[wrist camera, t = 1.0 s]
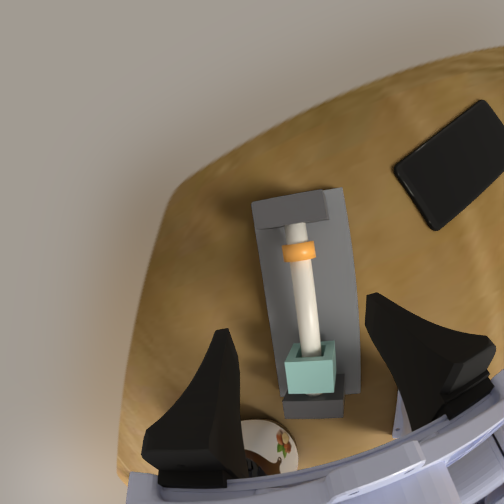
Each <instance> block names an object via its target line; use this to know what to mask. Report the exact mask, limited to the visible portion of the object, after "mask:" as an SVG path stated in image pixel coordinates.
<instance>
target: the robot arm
mask: <svg viewBox="0 0 504 504" xmlns="http://www.w3.org/2000/svg"><path fill="white" fill-rule="evenodd" d="M365 326H366V328H367V331H368V333H369V335H370V338H371V340H372V341H373V343H374V345H375V346H376V348H377V350H378V351H379V353H380V355H381V356H382V358H383V360H384V361H385V363H386V365H387V366H388V368H389V370H390V372H391V373H392V375H393V378H394V380H395V382H396V385H397V387H398V395H397V404H396V412H395V420H394V426H393V432H392V437H393V438H398V439H395V440H393V441H391V442H388V443H386V444H384V445H381V446H378V447H376V448H373V449H371V450H368V451H365V452H362V453H359V454H356V455H353V456H350V457H347V458H344V459H341V460H337V461H334V462H330V463H327V464H323V465H319V466H315V467H311V468H306V469H302V470H297V471H292V472H287V473H281V474H275V475H269V476H261V477H253V478H250V477H249V472H248V467H247V461H246V455H245V449H244V442H243V435H242V427H241V419H240V370H239V362H238V355H237V352H236V349H235V346H234V343H233V341H232V338H231V335H230V332H229V329H228V328H226V329H220V330H216V331H215V333H214V336H213V339H212V341H211V344H210V346H209V348H208V351H207V353H206V355H205V357H204V359H203V361H202V363H201V365H200V367H199V369H198V371H197V373H196V375H195V376H194V378H193V380H192V381H191V383H190V384H189V386H188V387H187V389H186V390H185V391H184V393H183V394H182V395H181V397H180V398H179V399H178V400H177V401H176V403H175V404H174V405H173V406H172V407H171V408H170V409H169V410H168V411H167V412H166V413H165V414H164V415H163V416H162V417H161V418H160V419H159V420H158V421H157V422H155V423H154V424H153V425H152V426H150V427H149V428H148V429H147V430H146V433H145V436H144V440H143V446H142V452H141V455H142V458H143V459H144V460H145V461H147V462H148V463H149V464H151V465H152V466H154V467H155V468H157V469H158V470H159V473H158V475H154V474H149V473H140V472H130V475H129V482H128V491H127V498H126V504H504V369H503V370H502V371H500V372H499V373H498V374H496V375H495V376H494V377H493V378H492V379H491V380H490V379H489V378H488V376H489V375H490V373H489V372H488V370H487V368H488V366H489V364H490V363H491V361H492V359H493V357H494V355H495V352H496V346H495V345H494V344H493V342H492V341H491V340H490V339H489V338H488V337H487V336H484V335H475V334H468V333H463V332H459V331H455V330H451V329H448V328H445V327H442V326H439V325H436V324H434V323H432V322H429V321H427V320H425V319H423V318H421V317H419V316H417V315H415V314H413V313H411V312H409V311H407V310H406V309H404V308H402V307H401V306H399V305H397V304H396V303H394V302H392V301H391V300H389V299H387V298H386V297H384V296H383V295H381V294H379V293H377V292H376V293H373V294H369V295H367V299H366V315H365ZM397 428H399V429H397Z"/></svg>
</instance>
